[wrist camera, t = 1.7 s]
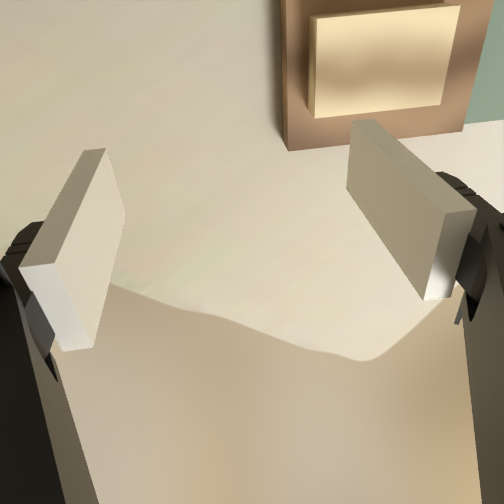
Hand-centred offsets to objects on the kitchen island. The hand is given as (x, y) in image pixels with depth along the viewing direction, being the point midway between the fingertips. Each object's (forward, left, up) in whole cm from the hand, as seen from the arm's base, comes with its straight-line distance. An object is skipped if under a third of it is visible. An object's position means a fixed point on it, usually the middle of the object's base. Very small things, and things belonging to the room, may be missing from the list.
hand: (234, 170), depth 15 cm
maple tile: (0, +11, -15) cm, 19 cm away
